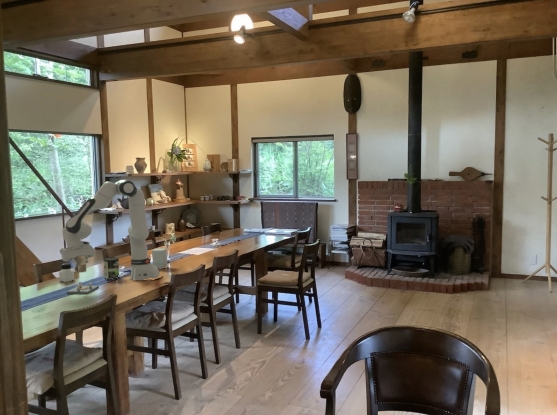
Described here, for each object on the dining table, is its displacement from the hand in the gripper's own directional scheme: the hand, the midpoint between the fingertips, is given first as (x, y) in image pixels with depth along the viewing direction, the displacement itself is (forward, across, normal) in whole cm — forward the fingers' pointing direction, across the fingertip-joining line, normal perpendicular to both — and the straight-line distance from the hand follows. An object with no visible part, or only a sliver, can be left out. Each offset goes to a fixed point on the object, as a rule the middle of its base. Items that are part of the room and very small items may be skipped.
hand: (82, 263), depth 301 cm
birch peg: (+3, 0, +4) cm, 5 cm away
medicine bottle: (-13, +3, +39) cm, 41 cm away
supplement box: (-2, +68, +28) cm, 74 cm away
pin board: (+12, 0, +13) cm, 18 cm away
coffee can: (-1, +28, +27) cm, 39 cm away
